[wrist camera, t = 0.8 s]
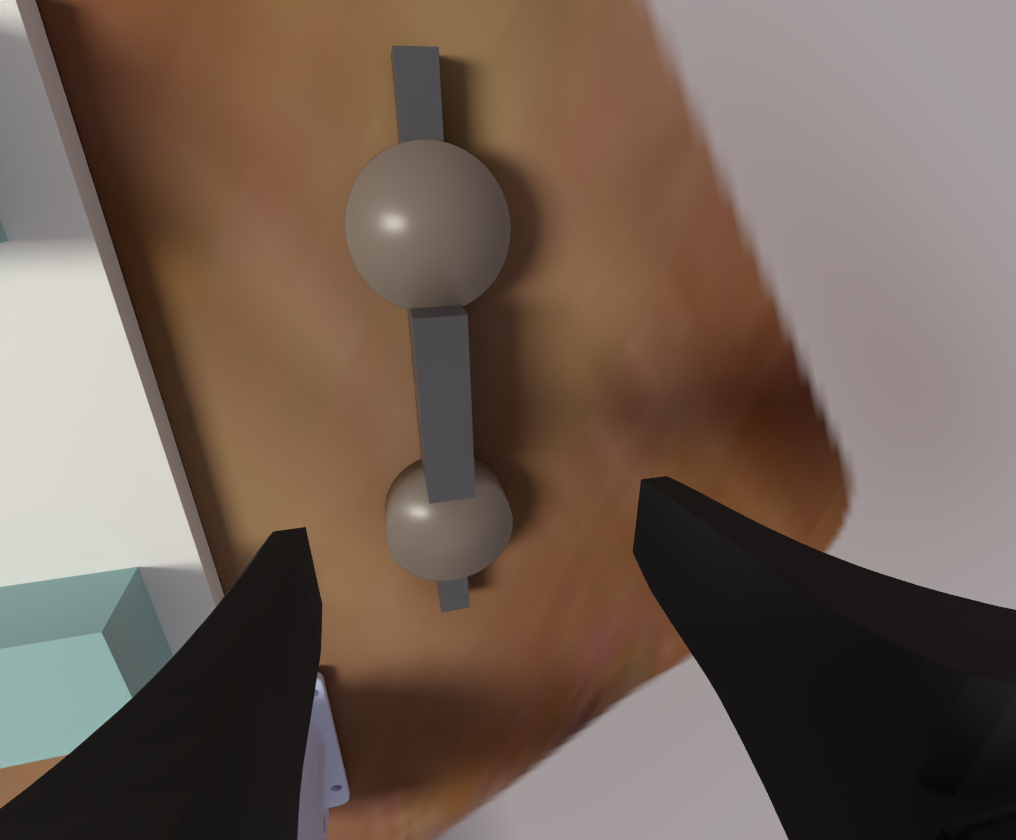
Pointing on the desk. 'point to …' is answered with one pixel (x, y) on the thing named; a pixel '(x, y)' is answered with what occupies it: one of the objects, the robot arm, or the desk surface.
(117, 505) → the stand
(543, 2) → the desk surface
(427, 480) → the rod with two spheres
